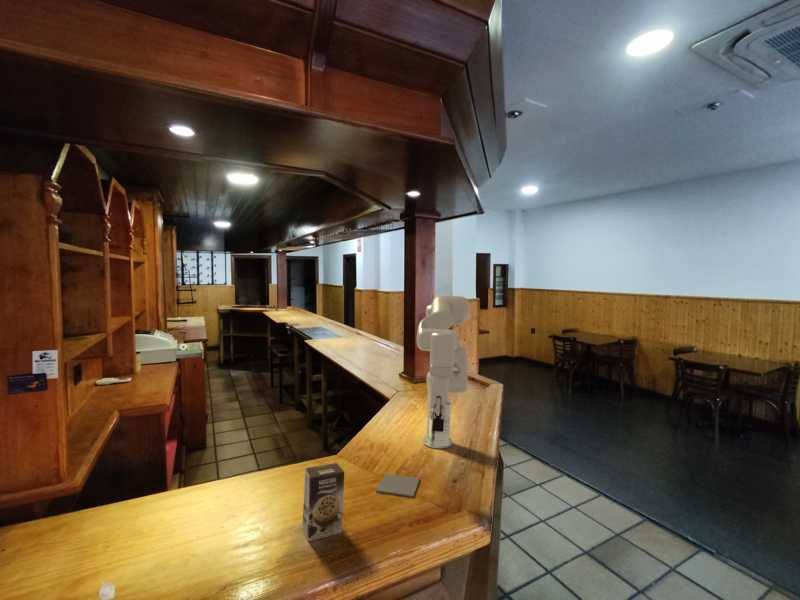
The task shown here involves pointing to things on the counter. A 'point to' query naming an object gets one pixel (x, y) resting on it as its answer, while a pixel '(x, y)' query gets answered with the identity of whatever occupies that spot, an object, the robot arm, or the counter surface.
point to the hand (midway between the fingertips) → (439, 426)
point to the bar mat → (398, 485)
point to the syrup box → (443, 437)
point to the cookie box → (323, 501)
